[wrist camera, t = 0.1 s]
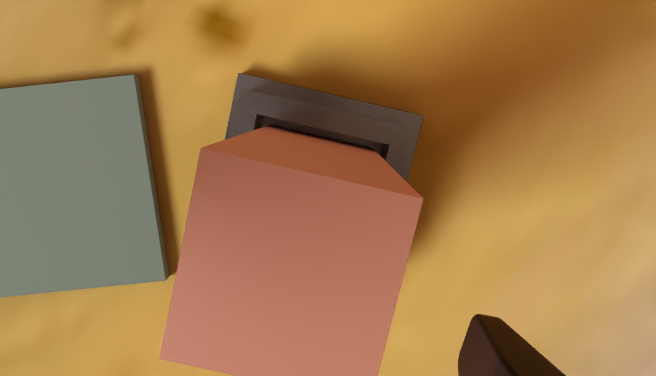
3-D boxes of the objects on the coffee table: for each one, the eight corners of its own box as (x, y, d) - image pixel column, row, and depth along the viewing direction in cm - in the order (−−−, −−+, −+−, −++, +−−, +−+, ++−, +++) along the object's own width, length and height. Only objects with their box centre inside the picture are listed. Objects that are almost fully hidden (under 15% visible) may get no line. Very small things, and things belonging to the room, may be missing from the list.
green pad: (169, 276, 25) (165, 280, 24) (-26, 296, 25) (-34, 300, 25) (138, 75, 24) (133, 74, 23) (-67, 97, 24) (-77, 97, 23)
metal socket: (377, 288, 25) (383, 312, 22) (205, 249, 25) (188, 269, 22) (421, 115, 24) (434, 117, 21) (240, 73, 24) (228, 68, 21)
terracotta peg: (348, 245, 24) (369, 403, 11) (250, 223, 24) (159, 358, 11) (372, 147, 24) (423, 198, 11) (271, 124, 23) (200, 147, 11)
